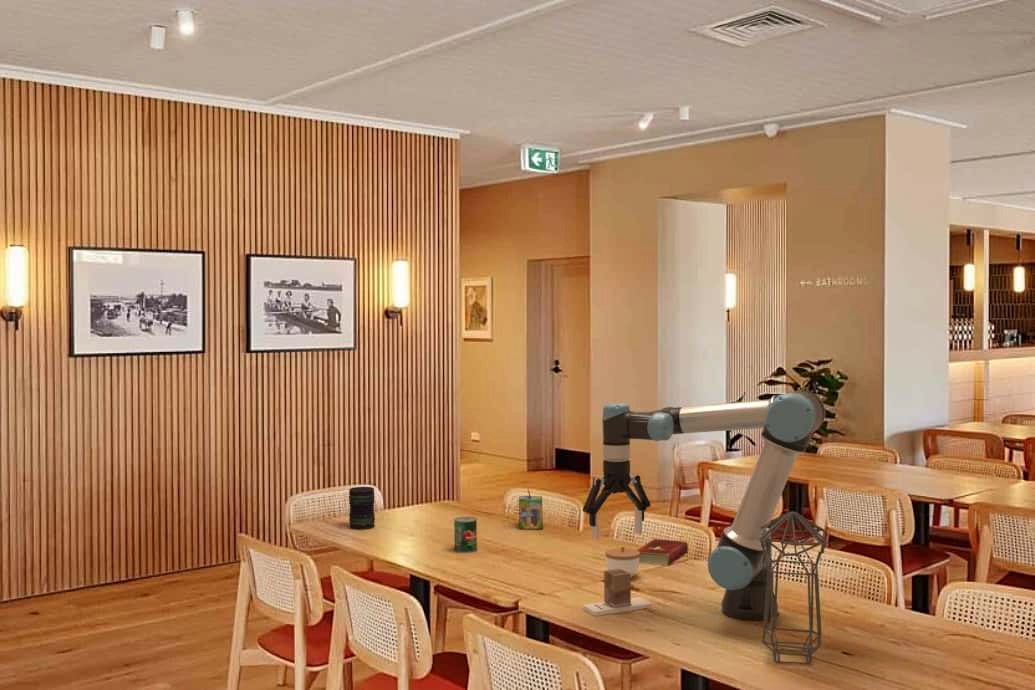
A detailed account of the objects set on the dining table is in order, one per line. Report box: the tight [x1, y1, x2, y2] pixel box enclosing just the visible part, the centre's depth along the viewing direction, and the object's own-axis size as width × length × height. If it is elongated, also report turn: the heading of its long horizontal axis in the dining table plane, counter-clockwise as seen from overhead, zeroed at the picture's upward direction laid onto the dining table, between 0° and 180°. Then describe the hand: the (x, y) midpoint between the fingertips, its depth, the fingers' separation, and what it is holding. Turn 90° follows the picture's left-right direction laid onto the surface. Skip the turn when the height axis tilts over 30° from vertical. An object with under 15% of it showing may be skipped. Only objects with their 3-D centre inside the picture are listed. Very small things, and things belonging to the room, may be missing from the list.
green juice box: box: [518, 488, 544, 531], centre depth 383 cm, size 9×9×15 cm
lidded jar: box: [605, 546, 640, 578], centre depth 310 cm, size 11×11×9 cm
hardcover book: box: [636, 538, 689, 567], centre depth 335 cm, size 12×21×4 cm, turn 153°
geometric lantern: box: [759, 511, 829, 665], centre depth 235 cm, size 16×16×35 cm
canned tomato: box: [453, 516, 478, 554], centre depth 346 cm, size 8×8×11 cm
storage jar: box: [348, 486, 376, 531], centre depth 386 cm, size 10×10×15 cm
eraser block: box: [603, 569, 632, 608], centre depth 276 cm, size 6×5×9 cm
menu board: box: [582, 596, 653, 617], centre depth 277 cm, size 7×18×1 cm, turn 114°
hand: (617, 535), depth 276 cm, fingers open, 13 cm apart
